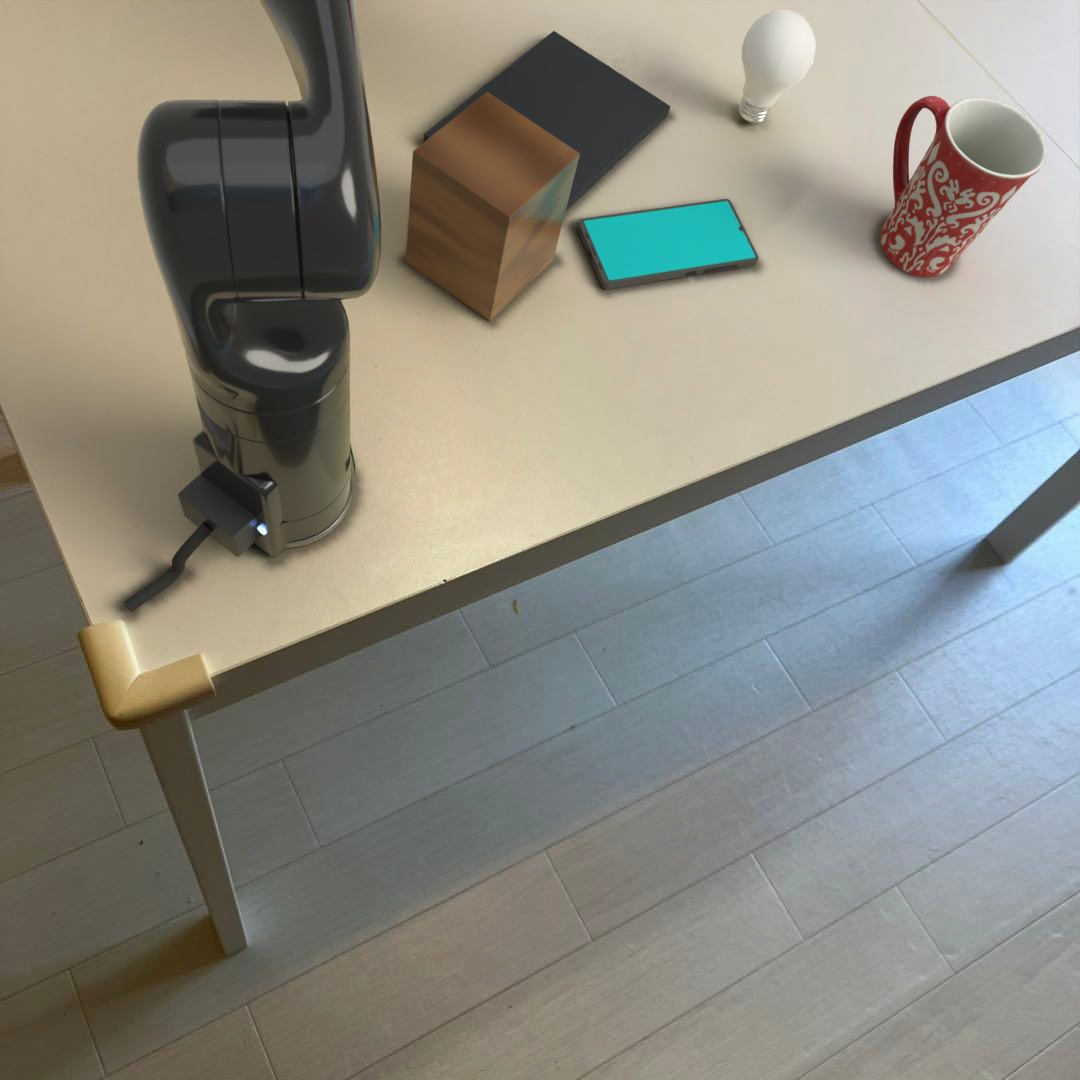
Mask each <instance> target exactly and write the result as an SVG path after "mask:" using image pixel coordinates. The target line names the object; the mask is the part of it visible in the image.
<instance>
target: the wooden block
mask: <svg viewBox="0 0 1080 1080" xmlns="http://www.w3.org/2000/svg"><path fill="white" fill-rule="evenodd" d="M579 156H580V153H578V152H577V151H575V150H574V149H572V148H571V147H569V146H568V145H566V144H565V143H563V142H562V141H560V140H559V139H557V138H556V137H554V136H553V135H551V134H550V133H548V132H547V131H545V130H544V129H542V128H541V127H539V126H538V125H536V124H535V123H533V122H532V121H530V120H529V119H527V118H526V117H524V116H523V115H521V114H520V113H518V112H517V111H515V110H514V109H512V108H511V107H509V106H508V105H506V104H505V103H503V102H502V101H500V100H499V99H497V98H496V97H494V96H493V95H491V94H490V93H488V92H486V93H485V94H484V95H483V96H481V97H480V98H479V99H477V100H476V101H475V102H474V103H472V104H471V105H470V106H469V107H467V108H466V109H465V110H464V111H462V112H461V113H460V114H459V115H457V116H456V117H455V118H454V119H452V120H451V121H450V122H449V123H447V124H446V125H445V126H444V127H442V128H441V129H440V130H439V131H437V132H436V133H435V134H434V135H432V136H431V137H430V138H429V139H427V140H426V141H425V142H424V143H423V142H422V143H421V144H420V145H418V146H417V147H416V148H415V149H414V150H412V162H411V173H410V186H409V187H410V188H409V189H410V190H409V205H408V219H407V235H406V247H405V248H406V249H405V263H406V264H408V265H409V266H410V267H412V268H414V269H415V270H416V271H417V272H419V273H420V274H422V275H423V276H424V277H426V278H428V279H429V280H431V281H432V282H433V283H435V284H436V285H438V286H439V287H440V288H441V289H443V290H445V291H446V292H447V293H448V294H450V295H452V296H453V297H455V298H456V299H457V300H459V301H460V302H462V303H463V304H464V305H466V306H467V307H468V308H470V309H471V310H473V311H474V312H476V313H477V314H478V315H480V316H481V317H483V318H484V319H486V320H487V321H489V322H491V321H492V320H494V318H495V317H497V316H498V314H499V313H501V312H502V311H503V310H504V309H505V308H506V307H507V306H509V304H510V303H511V302H512V301H513V300H514V299H515V298H516V297H517V296H518V295H519V294H520V293H521V292H522V291H523V290H525V288H526V287H528V286H529V284H530V283H532V282H533V280H535V279H536V278H537V277H538V276H539V275H540V274H541V273H542V272H543V271H544V270H545V269H546V268H547V267H548V266H549V265H551V263H552V262H553V261H554V259H555V254H556V251H557V247H558V242H559V239H560V235H561V230H562V226H563V222H564V219H565V216H566V212H567V211H566V207H567V203H568V199H569V195H570V191H571V187H572V184H573V180H574V176H575V172H576V168H577V164H578V160H579ZM565 211H566V212H565Z"/></svg>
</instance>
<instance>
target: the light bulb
mask: <svg viewBox="0 0 1080 1080" xmlns="http://www.w3.org/2000/svg"><path fill="white" fill-rule="evenodd" d="M816 41H817V40H816V36H815V33H814V30H813V28H812V26H811V24H810V23H809V22H808V20H806V18H805V17H803V15H801V14H799V13H798V12H795V11H792V10H788V9H777V10H772V11H769V12H767V13H764V14H763V15H762V16H760V17H759V18H757V19H756V20H755V21H754V22H753V23H752V24H751V26H750V27H749V29H748V30H747V32H746V34H745V36H744V39H743V41H742V46H741V63H742V66H743V72H744V77H745V81H744V85H743V87H742V96H741V99H740V101H739V104H738V113H739V114H740V116H741V117H742V118H743V119H744V120H745V121H748V122H750V123H754V124H755V123H756V124H758V123H762V122H763V121H765V120H766V119H767V117H768V115H769V112H770V111H771V108H772V106H773V105H774V104H775V103H776V102H777V100H778V99H779V97H780V95H782V94H783V93H784V92H785V91H787V90H788V89H790V88H792V87H793V86H795V85H797V84H798V83H799V82H801V80H803V79H804V77H805V76H806V75H807V74H808V72H809V71H810V69H811V68H812V66H813V63H814V60H815V56H816V51H817V43H816Z"/></svg>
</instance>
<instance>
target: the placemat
mask: <svg viewBox="0 0 1080 1080" xmlns="http://www.w3.org/2000/svg"><path fill="white" fill-rule="evenodd" d="M486 92H488V93H490V94H491V95H493V96H494V97H496V98H497V99H499V100H500V101H502V102H503V103H505V104H506V105H508V106H509V107H511V108H512V109H514V110H515V111H517V112H518V113H520V114H521V115H523V116H524V117H526V118H527V119H529V120H530V121H532V122H533V123H535V124H536V125H538V126H539V127H541V128H542V129H544V130H545V131H547V132H548V133H550V134H551V135H553V136H554V137H556V138H557V139H559V140H560V141H562V142H563V143H565V144H566V145H568V146H569V147H571V148H572V149H574V150H575V151H577V152H578V153H580V156H579V160H578V164H577V168H576V172H575V176H574V180H573V184H572V187H571V191H570V195H569V199H568V203H567V207H566V211H565V213H566V212H567V211H568V210H569V209H570V208H572V206H573V205H574V204H575V203H577V202H578V200H580V199H581V198H582V197H583V195H586V193H587V192H589V190H590V189H591V188H592V187H594V186H595V185H596V184H597V183H599V181H600V180H601V179H602V178H603V177H604V176H606V174H607V173H608V172H610V170H612V169H613V168H614V167H615V166H616V165H617V164H618V163H619V162H621V160H622V159H624V158H625V156H627V155H628V154H629V153H630V152H631V151H632V150H633V149H634V148H635V147H636V146H637V145H638V144H640V143H641V142H642V140H643V139H645V137H647V136H648V135H649V134H650V133H651V132H652V131H653V130H654V129H655V128H657V126H658V125H660V123H662V122H663V121H664V120H665V119H666V118H667V117H668V115H669V113H670V110H671V105H670V104H668V103H667V102H665V101H663V100H662V99H660V98H659V97H657V96H655V95H654V94H652V93H651V92H650V91H648V90H647V89H645V88H643V87H641V86H640V85H639V84H637V83H636V82H634V81H632V80H631V79H629V78H628V77H626V76H625V75H623V74H621V73H620V72H619V71H617V70H615V68H613V67H611V66H610V65H608V64H606V63H605V62H603V61H602V60H600V59H598V58H597V57H595V56H594V55H592V54H591V53H589V52H587V51H586V50H584V49H583V48H581V47H580V46H578V45H576V44H575V43H573V42H572V41H571V40H569V39H567V38H566V37H564V36H563V35H561V34H560V33H559V32H557V31H555V30H553V31H552V32H551V33H549V34H548V35H546V37H544V38H543V39H541V40H540V41H539V42H538V43H536V44H535V45H534V46H533V47H532V48H530V49H529V50H528V51H526V52H525V53H524V54H523V55H522V56H520V57H519V58H518V59H516V60H515V61H514V62H512V63H511V64H510V65H508V66H507V67H506V68H505V69H504V70H503V71H501V72H500V73H499V74H497V75H496V76H495V77H494V78H492V79H491V80H490V81H488V82H487V83H486V84H485V85H484V86H482V87H481V88H479V90H478V91H476V92H475V93H473V94H472V95H471V96H470V97H468V98H467V99H466V100H465V101H463V102H462V103H461V104H460V105H458V106H457V107H456V108H454V109H453V110H452V111H450V113H448V114H447V115H445V116H444V117H443V118H442V119H441V120H439V121H438V122H437V123H436V124H434V125H433V126H432V127H430V128H429V129H428V130H427V131H426V132H424V133H423V137H422V138H423V140H422V143H424V142H425V141H426V140H427V139H429V138H430V137H431V136H432V135H434V134H435V133H436V132H437V131H439V130H440V129H441V128H442V127H444V126H445V125H446V124H447V123H449V122H450V121H451V120H452V119H454V118H455V117H456V116H457V115H459V114H460V113H461V112H462V111H464V110H465V109H466V108H467V107H469V106H470V105H471V104H472V103H474V102H475V101H476V100H477V99H479V98H480V97H481V96H483V95H484V94H485V93H486Z"/></svg>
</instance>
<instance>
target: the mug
mask: <svg viewBox="0 0 1080 1080" xmlns="http://www.w3.org/2000/svg"><path fill="white" fill-rule="evenodd" d="M923 109H927V110H929V111H930V112H931V113H932V115H933V116H934V121H935V128H936V129H935V133H934V137H933V140H932V141H931V143H930V145H929V147H928V148H927V150H926V152H925V154H924V155H923V158H922V159H921V161H920V163H918V166H917V167H916V169H915V171H914V173H913V174H912V176H911V177H910V145H911V144H910V143H911V136H912V130H913V127H914V124H915V121H916V119H917V117H918V115H919V113H920V112H922V110H923ZM1041 133H1042V132H1041V131H1040V130H1039V129H1038V127H1037V126H1036V125H1035V124H1034V123H1033V122H1032V121H1031V120H1030V119H1029V117H1027V116H1026V115H1025V114H1023V113H1022V111H1019V110H1018V109H1016V108H1015V107H1013V106H1011V105H1010V104H1007V103H1005V102H1003V101H1001V100H997V99H993V98H989V97H980V96H979V97H977V96H975V97H967V98H963V99H961V100H958V101H957V102H955V103H953V104H952V105H951V106H950V105H949V104H948V102H947V101H946V100H945V99H943V98H941V97H940V96H936V95H928V96H923V97H921V98H919V99H918V100H916V101H914V102H913V103H911V104H910V105H909V107H908V108H907V109H906V110H905V112H904V114H903V115H902V117H901V119H900V121H899V122H898V125H897V129H896V132H895V137H894V144H893V156H892V185H893V187H892V188H893V197H894V207H893V208H892V210H891V212H890V214H889V215H888V216H887V218H886V219H885V221H884V223H883V225H882V227H881V229H880V233H879V242H880V246H881V249H882V251H883V253H884V254H885V256H886V257H887V259H888V260H889V261H890V262H891V263H892V264H893V265H894V266H895V267H897V268H898V269H900V270H901V271H903V272H905V273H907V274H909V275H913V276H915V277H916V276H917V277H920V278H921V277H922V278H932V277H937V276H940V275H943V274H944V273H946V272H947V271H948V270H949V269H950V267H952V265H953V264H954V263H955V262H956V261H958V259H959V258H960V256H961V255H962V254H963V253H964V252H965V250H967V248H968V247H970V245H971V244H972V243H973V242H974V241H975V240H976V238H977V237H979V235H980V234H981V233H982V232H983V231H984V230H985V228H986V227H987V226H988V225H989V224H990V223H991V221H993V219H994V218H995V217H996V216H997V215H998V214H999V213H1000V211H1001V210H1002V209H1003V208H1004V207H1005V206H1006V205H1007V204H1008V202H1009V201H1010V200H1011V199H1012V198H1013V197H1014V196H1015V195H1016V194H1017V192H1018V191H1019V190H1020V189H1021V188H1022V187H1023V185H1025V183H1026V182H1027V181H1028V180H1029V179H1030V178H1031V177H1032V176H1034V175H1035V174H1037V173H1038V172H1039V171H1040V170H1041V169H1042V168H1043V166H1044V164H1045V163H1046V159H1047V145H1046V142H1045V139H1044V137H1043V135H1042V134H1041Z"/></svg>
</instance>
